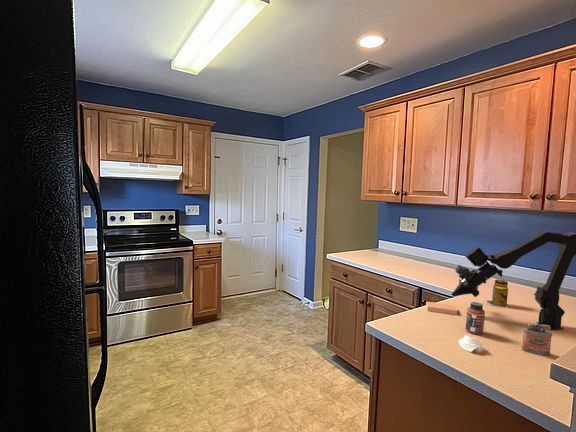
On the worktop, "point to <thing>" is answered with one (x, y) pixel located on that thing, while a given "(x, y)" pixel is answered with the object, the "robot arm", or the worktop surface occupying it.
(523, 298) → the worktop surface
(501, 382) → the worktop surface
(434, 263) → the worktop surface
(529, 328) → the lighter
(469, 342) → the whipped cream
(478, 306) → the supplement bottle
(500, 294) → the condiment
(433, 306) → the tile
